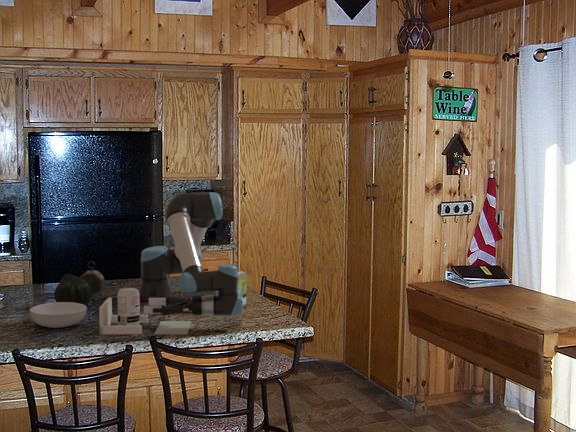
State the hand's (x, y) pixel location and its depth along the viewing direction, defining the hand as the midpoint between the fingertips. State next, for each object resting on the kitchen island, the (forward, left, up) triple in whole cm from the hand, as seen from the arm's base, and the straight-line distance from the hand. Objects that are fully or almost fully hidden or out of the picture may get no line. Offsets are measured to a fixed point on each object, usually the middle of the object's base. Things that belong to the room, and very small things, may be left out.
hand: (146, 305), depth 270 cm
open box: (-6, -6, -9) cm, 12 cm away
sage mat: (+7, +8, -9) cm, 14 cm away
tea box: (-3, +48, -9) cm, 48 cm away
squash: (-51, 0, -9) cm, 52 cm away
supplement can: (-5, -4, -9) cm, 11 cm away
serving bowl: (-28, -20, -9) cm, 36 cm away
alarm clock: (-63, +17, -9) cm, 66 cm away
